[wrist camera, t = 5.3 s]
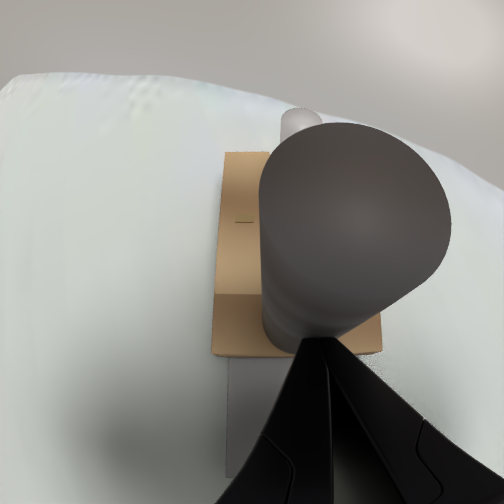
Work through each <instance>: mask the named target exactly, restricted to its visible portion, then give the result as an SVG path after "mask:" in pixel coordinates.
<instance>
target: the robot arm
mask: <svg viewBox="0 0 504 504" xmlns="http://www.w3.org/2000/svg"><path fill="white" fill-rule="evenodd" d="M215 504H504V478H502V477H501V476H499V475H498V474H496V473H495V472H493V471H492V470H490V469H489V468H487V467H486V466H484V465H483V464H482V463H480V462H479V461H477V460H476V459H474V458H473V457H471V456H470V455H469V454H467V453H466V452H465V451H463V450H462V449H461V448H459V447H458V446H457V445H455V444H454V443H453V442H451V441H450V440H449V439H448V438H447V437H445V436H444V435H443V434H442V433H441V432H440V431H438V430H437V429H436V428H435V427H434V426H433V425H432V424H430V423H429V422H428V421H427V420H426V419H424V420H423V416H421V415H420V414H419V413H418V412H417V411H416V410H415V409H414V408H413V407H411V406H410V405H409V404H408V403H407V402H406V401H405V400H404V399H403V398H402V397H400V396H399V395H398V394H397V393H396V392H395V391H394V390H393V389H392V388H391V387H389V386H388V385H387V384H386V383H385V382H384V381H383V380H382V379H381V378H380V377H379V376H377V375H376V374H375V373H374V372H373V371H372V370H371V369H370V368H369V367H368V366H366V365H365V364H364V363H363V362H362V361H361V360H360V359H359V358H358V357H357V356H356V355H354V354H353V353H352V352H351V351H350V350H349V349H348V348H347V347H346V346H345V345H344V344H342V343H341V342H340V341H339V340H338V339H337V338H335V337H321V338H319V339H318V338H316V337H310V338H302V339H301V341H300V344H299V346H298V349H297V351H296V353H295V356H294V358H293V361H292V363H291V365H290V368H289V370H288V372H287V375H286V377H285V379H284V381H283V384H282V386H281V388H280V391H279V393H278V395H277V397H276V399H275V402H274V404H273V406H272V408H271V410H270V413H269V415H268V417H267V419H266V421H265V423H264V425H263V427H262V430H261V432H260V435H259V436H258V437H257V439H256V441H255V443H254V445H253V447H252V449H251V451H250V453H249V455H248V457H247V458H246V460H245V462H244V464H243V465H242V467H241V469H240V470H239V472H238V473H237V475H236V476H235V477H234V479H233V480H232V482H231V483H230V485H229V486H228V487H227V489H226V490H225V491H224V493H223V494H222V495H221V496H220V498H219V499H218V500H217V501H216V503H215Z"/></svg>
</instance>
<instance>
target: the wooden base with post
mask: <svg viewBox="0 0 504 504" xmlns="http://www.w3.org/2000/svg"><path fill="white" fill-rule="evenodd" d="M450 236H451V215H450V209H449V204H448V201H447V198H446V195H445V192H444V190H443V188H442V186H441V184H440V182H439V180H438V178H437V177H436V175H435V174H434V172H433V171H432V169H431V168H430V167H429V165H428V164H427V163H426V162H425V161H424V160H423V159H422V158H421V157H420V156H419V155H418V154H417V153H416V152H415V151H414V150H413V149H411V148H410V147H409V146H407V145H406V144H405V143H403V142H402V141H400V140H398V139H397V138H395V137H393V136H391V135H389V134H387V133H385V132H383V131H380V130H378V129H375V128H372V127H368V126H364V125H360V124H353V123H325V124H320V125H315V126H312V127H308V128H305V129H303V130H301V131H299V132H296V133H295V134H293V135H291V136H290V137H288V138H287V139H286V140H284V141H283V142H282V143H281V144H280V145H279V146H278V147H277V148H276V149H275V150H274V151H273V152H272V154H271V155H270V153H269V152H225V160H224V171H223V182H222V193H221V205H220V218H219V231H218V245H217V259H216V274H215V290H214V308H213V327H212V348H211V354H213V355H215V356H221V357H253V358H294V356H295V353H296V351H297V349H298V346H299V344H300V341H301V339H302V338H310V337H316V338H318V339H319V338H321V337H335V338H337V339H338V340H339V341H340V342H341V343H342V344H344V345H345V346H346V347H347V348H348V349H349V350H350V351H351V352H352V353H353V354H354V355H370V354H374V353H377V352H381V351H382V333H381V317H380V312H381V311H382V310H384V309H386V308H387V307H389V306H390V305H392V304H393V303H395V302H396V301H398V300H399V299H400V298H402V297H403V296H405V295H406V294H408V293H409V292H411V291H412V290H413V289H415V288H416V287H418V286H419V285H421V284H422V283H423V282H425V281H426V280H427V279H428V278H429V277H430V276H431V275H432V274H433V273H434V272H435V271H436V269H437V268H438V267H439V265H440V264H441V262H442V260H443V258H444V256H445V254H446V251H447V249H448V246H449V241H450Z"/></svg>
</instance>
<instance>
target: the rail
mask: <svg viewBox="0 0 504 504" xmlns="http://www.w3.org/2000/svg"><path fill="white" fill-rule="evenodd" d="M320 124H322V119H321V118H320V116H319V115H318V114H317V113H315V112H314V111H312V110H309V109H306V108H293V109H290V110H288V111H286V112H285V113H284V114H283V115H282V118H281V134H280V144H281V143H282V142H283V141H284V140H286V139H287V138H288V137H290V136H291V135H293V134H295V133H296V132H299V131H301V130H303V129H305V128H308V127H312V126H315V125H320ZM356 356H357V357H358V358H359V356H358V355H356ZM292 361H293V358H253V357H229V366H228V399H227V440H226V477H230V478H234V477H235V476H236V475H237V473H238V472H239V470H240V469H241V467H242V465H243V464H244V462H245V460H246V458H247V457H248V455H249V453H250V451H251V449H252V447H253V445H254V443H255V441H256V439H257V437H258V436H259V435H260V432H261V430H262V427H263V425H264V423H265V421H266V419H267V417H268V415H269V413H270V410H271V408H272V406H273V404H274V402H275V399H276V397H277V395H278V393H279V391H280V388H281V386H282V384H283V381H284V379H285V377H286V375H287V372H288V370H289V368H290V365H291V363H292Z"/></svg>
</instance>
